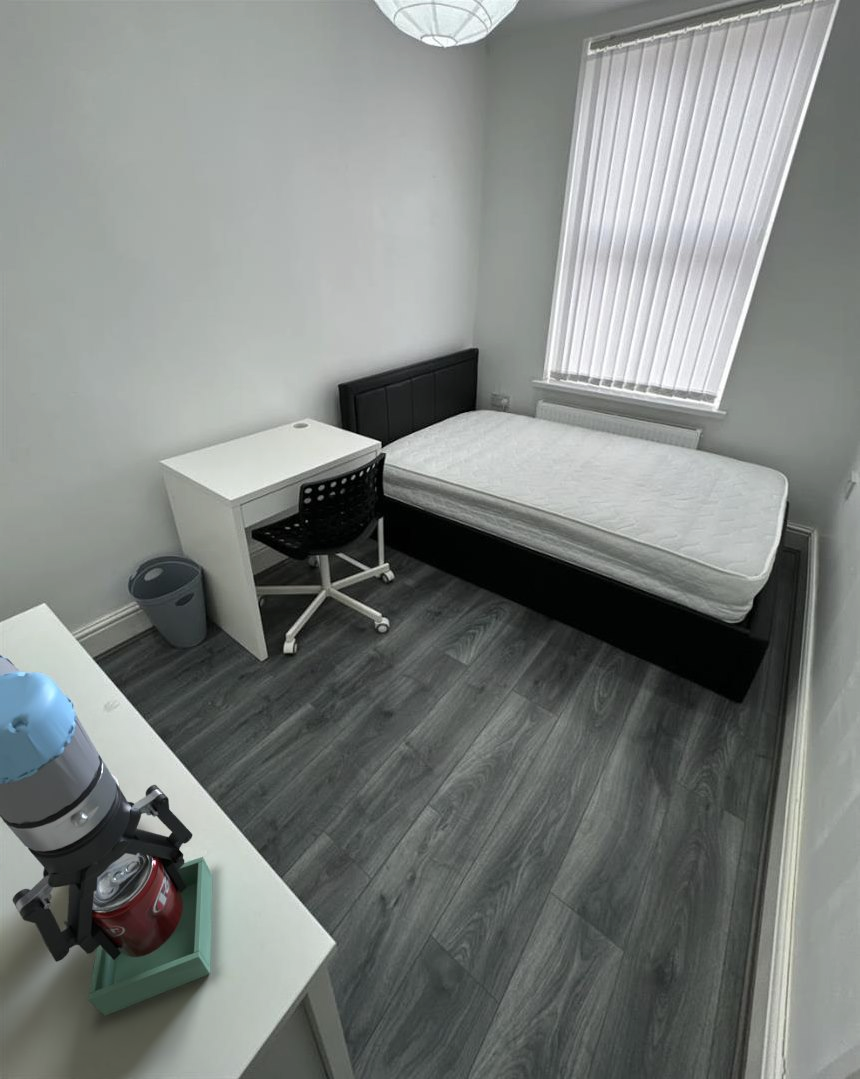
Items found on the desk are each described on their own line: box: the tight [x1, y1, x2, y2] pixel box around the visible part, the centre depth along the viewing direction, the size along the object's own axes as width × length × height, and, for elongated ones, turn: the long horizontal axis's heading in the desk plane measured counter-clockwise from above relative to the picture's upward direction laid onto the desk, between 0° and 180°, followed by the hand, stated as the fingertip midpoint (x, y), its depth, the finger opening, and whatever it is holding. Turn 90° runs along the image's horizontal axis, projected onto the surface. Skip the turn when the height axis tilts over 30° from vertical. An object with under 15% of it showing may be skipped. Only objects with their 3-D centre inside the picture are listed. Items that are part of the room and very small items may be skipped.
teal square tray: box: [87, 856, 213, 1016], centre depth 59 cm, size 11×11×6 cm
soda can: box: [92, 853, 183, 957], centre depth 55 cm, size 7×7×12 cm
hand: (146, 913), depth 57 cm, fingers closed on soda can, 7 cm apart
